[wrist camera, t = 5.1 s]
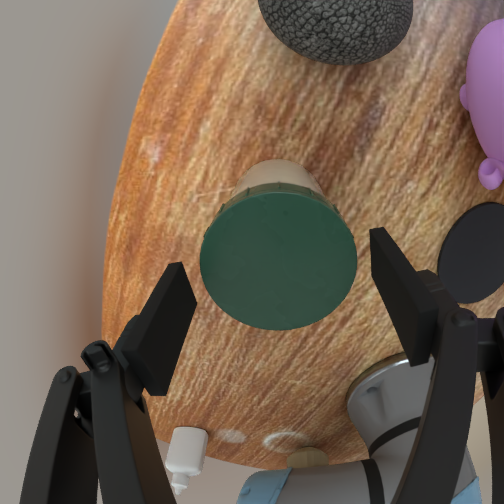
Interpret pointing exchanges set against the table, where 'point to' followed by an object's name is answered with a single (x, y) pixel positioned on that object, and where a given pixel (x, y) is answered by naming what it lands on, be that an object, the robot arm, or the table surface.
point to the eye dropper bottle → (186, 455)
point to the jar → (276, 176)
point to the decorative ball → (339, 27)
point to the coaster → (474, 254)
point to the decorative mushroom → (307, 458)
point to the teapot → (487, 99)
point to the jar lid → (278, 257)
